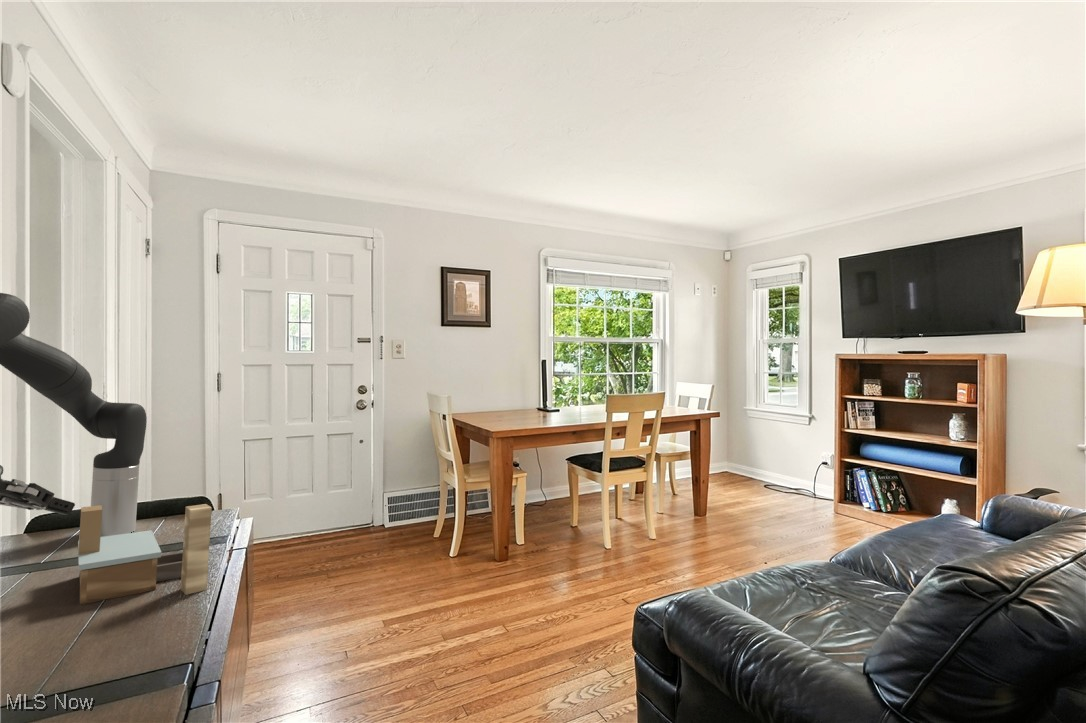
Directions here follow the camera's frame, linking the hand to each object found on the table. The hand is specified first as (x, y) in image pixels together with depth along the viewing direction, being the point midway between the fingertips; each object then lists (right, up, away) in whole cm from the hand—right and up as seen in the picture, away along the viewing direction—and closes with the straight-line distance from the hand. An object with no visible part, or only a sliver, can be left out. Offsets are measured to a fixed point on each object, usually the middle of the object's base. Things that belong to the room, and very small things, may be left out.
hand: (70, 509), depth 99 cm
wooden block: (+21, -17, +3) cm, 27 cm away
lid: (+5, -10, +5) cm, 12 cm away
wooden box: (+8, -16, +7) cm, 19 cm away
